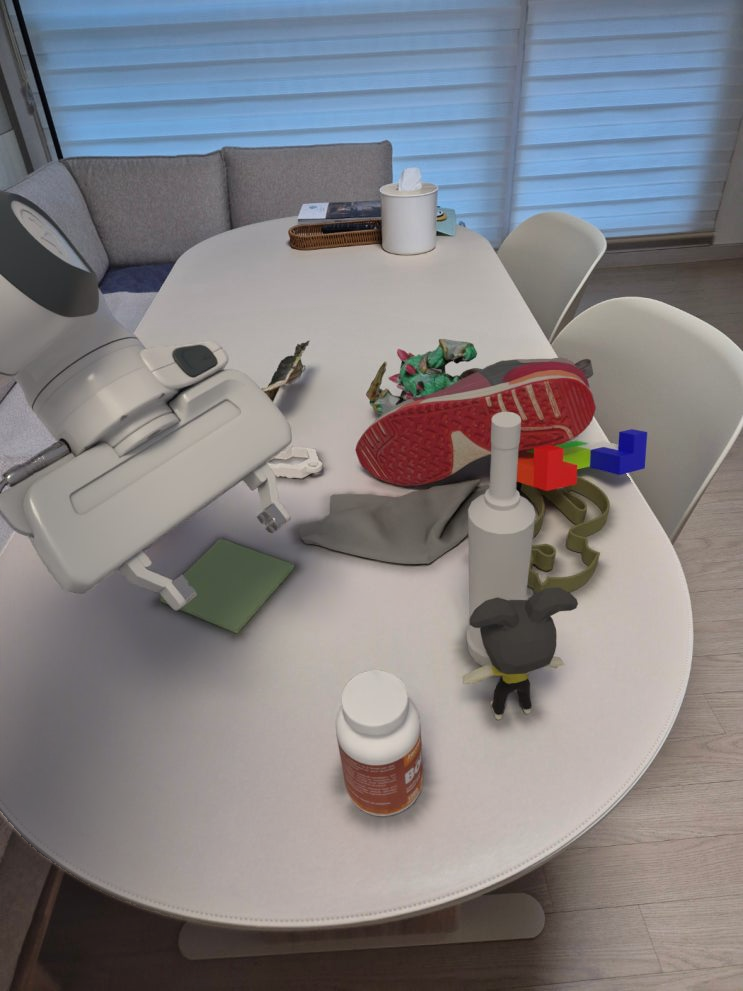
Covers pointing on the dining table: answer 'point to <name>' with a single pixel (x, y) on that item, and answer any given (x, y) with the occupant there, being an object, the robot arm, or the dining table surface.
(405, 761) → the pill bottle
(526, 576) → the bottle
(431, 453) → the sneaker
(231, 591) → the green square mat
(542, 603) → the toy
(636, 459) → the building blocks
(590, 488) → the cookie cutter
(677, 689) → the dining table surface
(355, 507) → the cloth
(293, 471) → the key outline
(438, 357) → the figurine
